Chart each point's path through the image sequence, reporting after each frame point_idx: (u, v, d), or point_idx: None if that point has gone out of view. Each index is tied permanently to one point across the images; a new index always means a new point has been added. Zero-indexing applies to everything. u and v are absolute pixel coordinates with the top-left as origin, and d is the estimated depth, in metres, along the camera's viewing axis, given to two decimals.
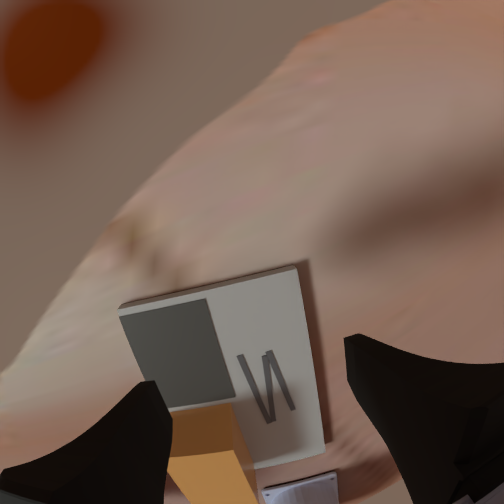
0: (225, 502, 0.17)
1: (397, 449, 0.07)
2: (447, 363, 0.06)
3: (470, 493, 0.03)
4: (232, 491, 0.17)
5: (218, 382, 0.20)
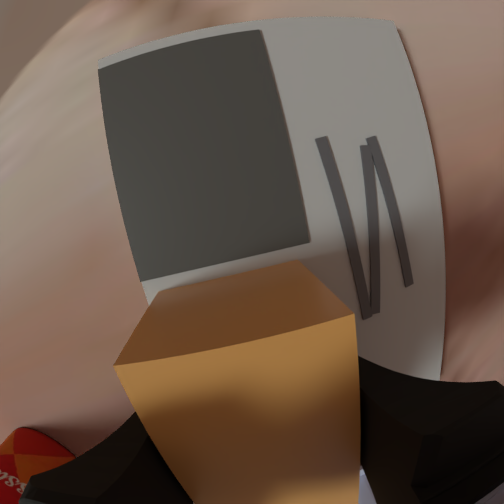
0: None
1: (365, 462, 0.07)
2: (415, 379, 0.06)
3: None
4: (315, 475, 0.07)
5: (277, 199, 0.10)
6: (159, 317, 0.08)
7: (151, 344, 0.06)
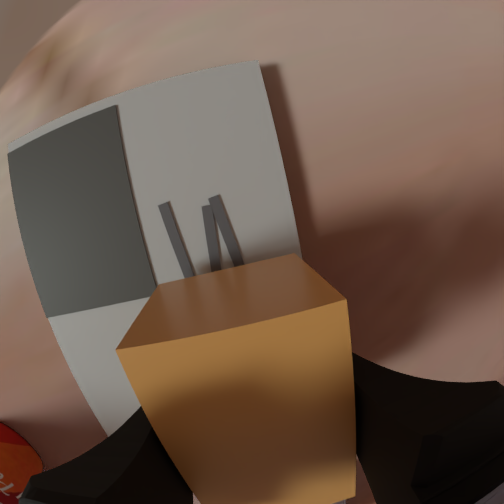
0: (285, 498, 0.07)
1: (365, 462, 0.07)
2: (414, 379, 0.06)
3: None
4: (311, 463, 0.07)
5: (128, 260, 0.12)
6: (160, 306, 0.08)
7: (152, 330, 0.07)
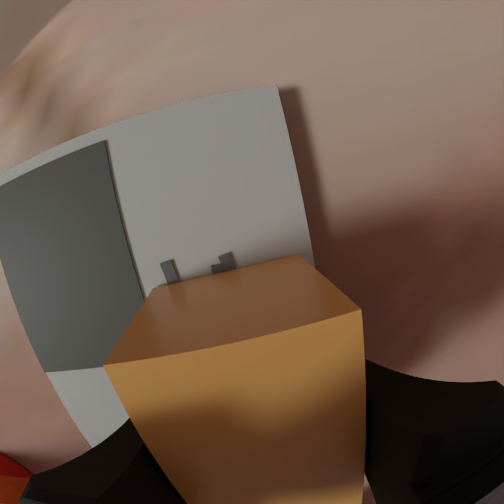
0: None
1: (366, 462, 0.07)
2: (415, 379, 0.06)
3: None
4: (317, 480, 0.06)
5: (129, 321, 0.10)
6: (153, 314, 0.07)
7: (143, 342, 0.06)
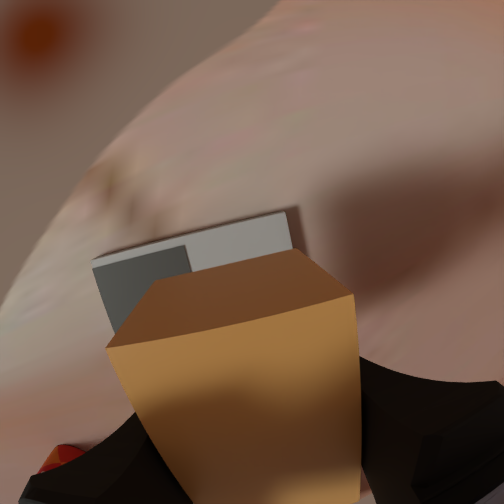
0: None
1: (365, 462, 0.07)
2: (415, 379, 0.06)
3: None
4: (314, 469, 0.07)
5: None
6: (154, 303, 0.08)
7: (145, 327, 0.06)
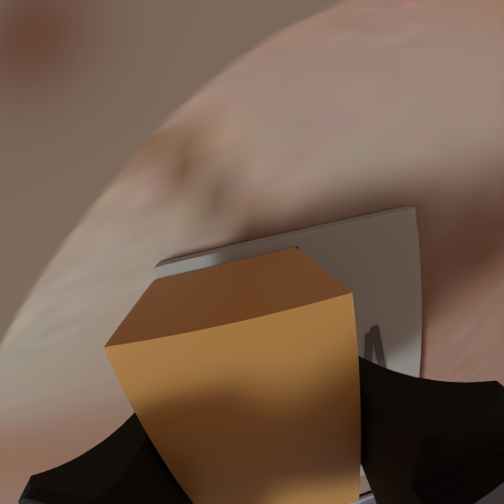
0: None
1: (366, 462, 0.07)
2: (414, 379, 0.06)
3: None
4: (314, 468, 0.07)
5: None
6: (153, 302, 0.08)
7: (144, 326, 0.06)
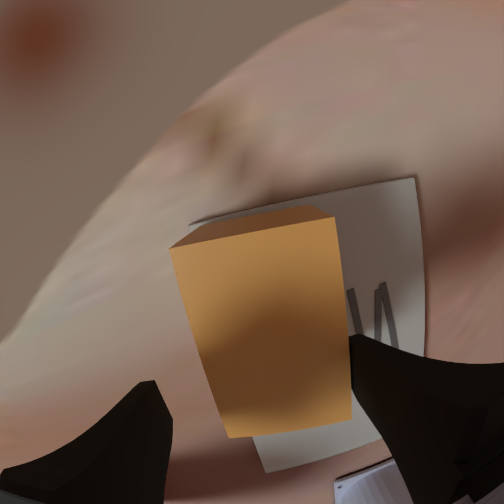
0: (290, 408, 0.10)
1: (397, 449, 0.07)
2: (447, 363, 0.06)
3: (470, 493, 0.03)
4: (312, 368, 0.10)
5: None
6: (202, 232, 0.11)
7: (196, 239, 0.10)
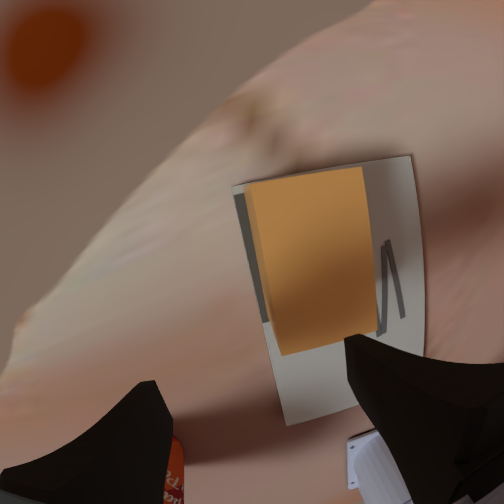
0: (332, 318, 0.14)
1: (397, 449, 0.07)
2: (447, 363, 0.06)
3: (470, 493, 0.03)
4: (349, 279, 0.14)
5: None
6: None
7: None
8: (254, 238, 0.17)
